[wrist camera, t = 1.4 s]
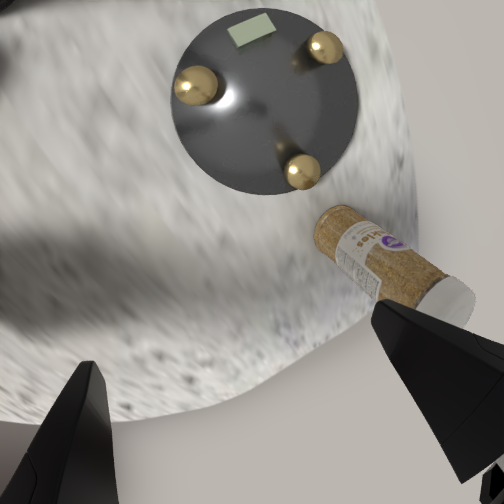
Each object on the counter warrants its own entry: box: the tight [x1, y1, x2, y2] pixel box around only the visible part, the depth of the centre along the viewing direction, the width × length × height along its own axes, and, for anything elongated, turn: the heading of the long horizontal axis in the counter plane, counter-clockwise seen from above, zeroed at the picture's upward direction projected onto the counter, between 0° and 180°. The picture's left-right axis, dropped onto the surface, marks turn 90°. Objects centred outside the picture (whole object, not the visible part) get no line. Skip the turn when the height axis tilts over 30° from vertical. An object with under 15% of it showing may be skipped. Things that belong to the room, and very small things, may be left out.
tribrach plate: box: [170, 8, 358, 195], centre depth 17 cm, size 13×13×2 cm
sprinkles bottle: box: [314, 206, 476, 329], centre depth 19 cm, size 5×5×13 cm
